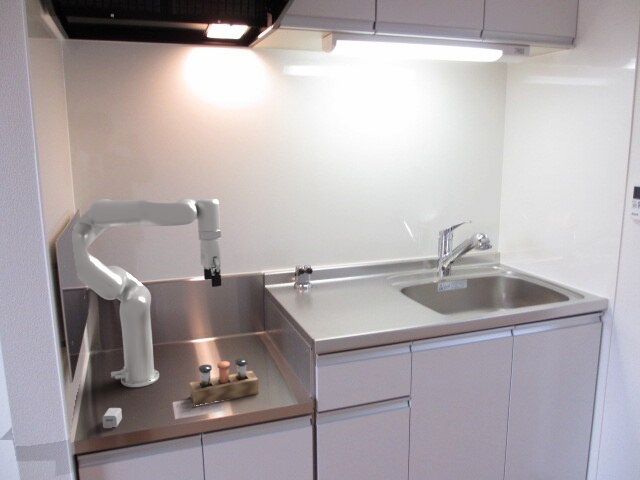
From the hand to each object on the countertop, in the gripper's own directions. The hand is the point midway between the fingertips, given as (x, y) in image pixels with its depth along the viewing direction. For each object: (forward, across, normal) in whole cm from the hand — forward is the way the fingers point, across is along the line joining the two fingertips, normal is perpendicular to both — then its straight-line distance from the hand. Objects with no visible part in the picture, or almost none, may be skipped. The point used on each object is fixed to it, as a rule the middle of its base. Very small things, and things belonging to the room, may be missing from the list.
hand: (212, 282), depth 179 cm
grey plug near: (+29, +18, -9) cm, 35 cm away
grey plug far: (+29, +19, +3) cm, 35 cm away
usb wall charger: (+33, +19, -37) cm, 53 cm away
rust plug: (+29, +18, -3) cm, 35 cm away
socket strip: (+33, +18, -3) cm, 38 cm away
